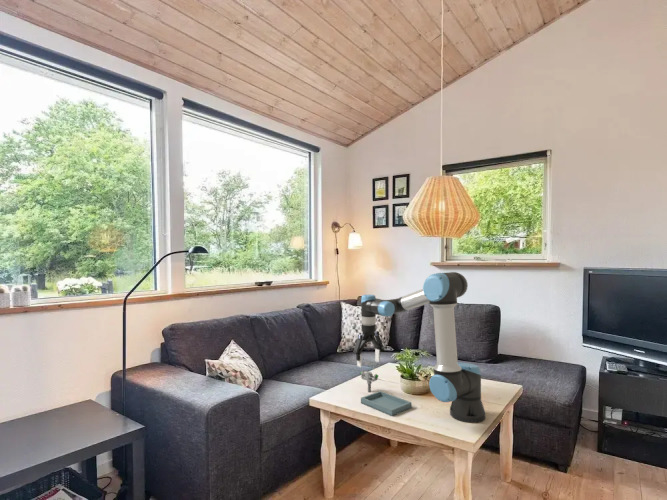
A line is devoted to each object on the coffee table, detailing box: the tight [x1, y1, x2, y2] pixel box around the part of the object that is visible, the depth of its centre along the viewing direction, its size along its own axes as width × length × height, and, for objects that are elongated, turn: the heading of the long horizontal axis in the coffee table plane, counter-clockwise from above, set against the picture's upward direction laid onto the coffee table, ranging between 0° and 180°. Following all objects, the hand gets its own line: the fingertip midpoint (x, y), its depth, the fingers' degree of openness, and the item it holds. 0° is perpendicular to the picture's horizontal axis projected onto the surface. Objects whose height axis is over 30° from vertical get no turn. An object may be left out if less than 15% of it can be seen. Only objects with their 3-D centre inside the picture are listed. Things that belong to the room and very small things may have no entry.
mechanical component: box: [359, 370, 379, 393], centre depth 203 cm, size 3×10×10 cm, turn 53°
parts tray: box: [360, 390, 413, 417], centre depth 185 cm, size 20×14×3 cm
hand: (368, 364), depth 203 cm, fingers open, 13 cm apart
